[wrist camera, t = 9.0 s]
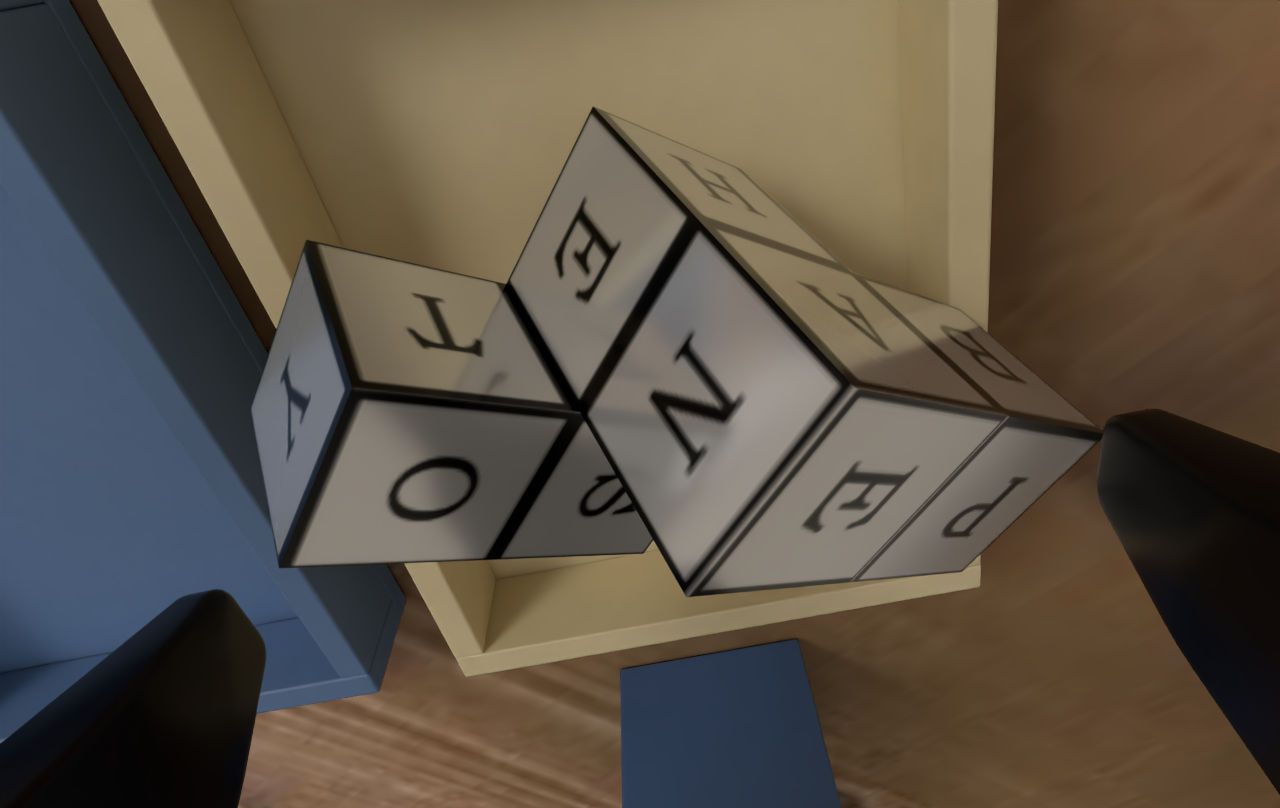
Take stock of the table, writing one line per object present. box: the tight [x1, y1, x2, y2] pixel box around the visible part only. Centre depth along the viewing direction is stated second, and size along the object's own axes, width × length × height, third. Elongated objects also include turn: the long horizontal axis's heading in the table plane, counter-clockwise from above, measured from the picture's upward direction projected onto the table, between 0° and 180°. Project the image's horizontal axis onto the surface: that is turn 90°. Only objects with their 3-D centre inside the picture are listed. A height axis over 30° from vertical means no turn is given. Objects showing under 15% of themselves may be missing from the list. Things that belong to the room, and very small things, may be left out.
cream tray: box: [97, 0, 998, 677], centre depth 12 cm, size 13×10×2 cm
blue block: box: [620, 639, 842, 808], centre depth 18 cm, size 4×4×4 cm
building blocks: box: [250, 106, 1103, 597], centre depth 10 cm, size 5×5×8 cm
